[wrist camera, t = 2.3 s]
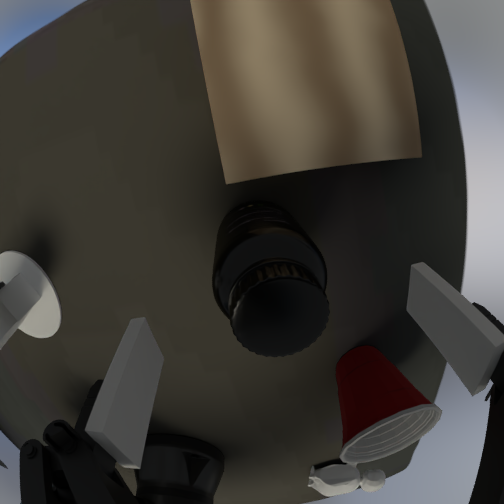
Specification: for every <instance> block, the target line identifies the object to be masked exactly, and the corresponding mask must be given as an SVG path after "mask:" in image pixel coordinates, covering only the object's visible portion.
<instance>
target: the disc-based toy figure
mask: <svg viewBox="0 0 504 504" xmlns="http://www.w3.org/2000/svg"><path fill="white" fill-rule="evenodd" d="M61 319H62V310H61V304H60V300H59V297H58V294H57V292H56V290H55V288H54V286H53V284H52V282H51V280H50V279H49V277H48V276H47V274H46V273H45V272H44V270H43V269H42V268H41V267H40V266H39V265H38V264H37V263H36V262H35V261H34V260H33V259H31V258H30V257H29V256H27V255H25V254H23V253H21V252H19V251H13V250H10V251H5V252H3V253H2V254H0V349H1V348H2V347H3V346H4V344H5V343H6V342H7V341H8V339H9V338H10V337H11V336H12V334H13V333H14V332H15V331H16V330H17V329H18V328H19V329H20V330H22V331H23V332H25V333H26V334H28V335H31V336H33V337H37V338H47V337H50V336H52V335H54V334H55V333H56V331H57V330H58V329H59V327H60V324H61Z"/></svg>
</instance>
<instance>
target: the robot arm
mask: <svg viewBox="0 0 504 504" xmlns="http://www.w3.org/2000/svg"><path fill="white" fill-rule="evenodd" d="M406 310H407V312H408V313H409V314H410V315H411V316H412V318H413V319H414V320H415V321H416V322H417V324H418V325H419V326H420V327H421V329H422V330H423V331H424V332H425V333H426V335H427V336H428V337H429V338H430V340H431V341H432V342H433V344H434V345H435V346H436V347H437V349H438V350H439V351H440V353H441V354H442V355H443V356H444V358H445V359H446V360H447V362H448V363H449V364H450V365H451V367H452V368H453V370H454V371H455V372H456V374H457V375H458V377H459V378H460V379H461V381H462V382H463V384H464V385H465V386H466V387H467V389H468V391H469V392H470V393H471V395H472V396H474V395H475V394H477V393H479V392H480V391H482V390H484V389H485V388H486V386H487V384H488V382H489V380H490V379H491V381H492V382H493V383H494V384H493V385H492V387H491V389H490V391H489V393H488V394H487V396H486V399H485V401H487V400H488V398H489V397H490V395H491V398H490V409H489V416H488V424H487V431H486V437H485V443H484V448H483V452H482V457H481V462H480V466H479V470H478V474H477V478H476V481H475V485H474V488H473V491H472V495H471V498H470V501H469V504H504V325H503V324H502V323H501V322H500V321H499V320H496V318H495V317H494V316H493V315H491V313H490V312H489V311H488V310H487V309H486V308H485V307H483V306H481V305H479V304H477V303H475V302H474V303H472V304H471V303H470V302H469V301H468V300H467V299H466V298H465V297H464V296H463V295H461V294H460V293H459V292H458V291H457V290H456V289H455V288H453V287H452V286H451V285H450V284H449V283H448V282H447V281H445V280H444V279H443V278H442V277H441V276H439V275H438V274H437V273H436V272H435V271H433V270H432V269H431V268H430V267H429V266H427V265H426V264H425V263H424V262H420V263H417V264H413V265H411V271H410V283H409V292H408V301H407V309H406ZM163 362H164V357H163V355H162V353H161V351H160V349H159V347H158V345H157V343H156V340H155V338H154V336H153V334H152V332H151V330H150V327H149V325H148V323H147V321H146V318H145V317H142V318H135V319H131V321H130V323H129V325H128V327H127V329H126V331H125V333H124V336H123V338H122V340H121V342H120V344H119V347H118V349H117V351H116V353H115V356H114V358H113V360H112V362H111V365H110V367H109V369H108V372H107V374H106V377H105V379H104V380H97V382H96V383H95V384H94V385H93V386H92V387H91V389H90V391H89V394H88V396H87V399H86V401H85V403H84V406H83V408H82V410H81V413H80V415H79V418H78V420H77V423H76V425H75V428H74V429H73V428H72V427H71V426H70V425H69V424H68V422H66V421H64V420H55V421H53V422H51V423H50V424H49V425H48V426H47V427H46V428H45V430H44V433H43V441H45V442H46V443H47V444H48V445H49V446H44V445H42V444H41V443H40V442H39V441H38V440H36V439H30V440H28V441H26V442H25V443H24V444H23V446H22V448H21V450H20V491H21V503H20V504H213V498H214V495H215V492H216V490H217V487H218V485H219V482H220V480H221V477H222V475H223V472H224V456H223V454H222V453H221V452H220V451H219V450H218V449H216V448H215V447H213V446H211V445H209V444H207V443H205V442H202V441H199V440H196V439H192V438H188V437H183V436H177V435H167V434H154V435H147V431H148V426H149V422H150V417H151V413H152V408H153V404H154V399H155V395H156V391H157V386H158V382H159V378H160V374H161V370H162V366H163ZM116 461H117V462H118V463H119V464H120V465H122V466H123V467H126V468H134V472H135V477H136V482H137V491H136V496H134V495H133V494H132V492H131V491H130V489H129V488H128V486H127V485H126V483H125V481H124V480H123V478H122V477H121V475H120V473H119V472H118V470H117V469H116V468H115V463H116Z"/></svg>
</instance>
